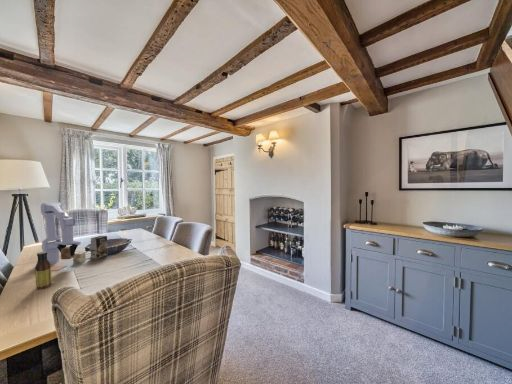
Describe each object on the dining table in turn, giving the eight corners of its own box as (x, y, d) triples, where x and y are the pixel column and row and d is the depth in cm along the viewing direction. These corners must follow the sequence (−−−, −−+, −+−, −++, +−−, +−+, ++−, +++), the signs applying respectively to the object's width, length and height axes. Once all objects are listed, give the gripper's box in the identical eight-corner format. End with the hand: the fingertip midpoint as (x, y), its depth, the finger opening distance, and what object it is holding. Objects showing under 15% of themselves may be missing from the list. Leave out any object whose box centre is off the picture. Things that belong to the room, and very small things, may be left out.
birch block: (73, 263, 154) (73, 254, 153) (78, 261, 159) (77, 251, 158) (80, 263, 154) (80, 253, 154) (85, 261, 159) (85, 251, 159)
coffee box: (97, 259, 164) (97, 238, 164) (90, 258, 166) (90, 238, 165) (107, 255, 173) (107, 235, 173) (101, 254, 175) (100, 235, 174)
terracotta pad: (44, 271, 140) (44, 270, 140) (54, 266, 148) (54, 265, 148) (57, 270, 141) (57, 270, 141) (66, 266, 149) (66, 265, 149)
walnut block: (61, 259, 142) (60, 249, 142) (66, 256, 147) (66, 246, 147) (69, 259, 143) (69, 248, 143) (74, 256, 148) (74, 246, 148)
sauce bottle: (42, 284, 124) (42, 250, 123) (54, 284, 124) (53, 250, 124) (32, 290, 117) (31, 254, 116) (44, 289, 118) (43, 254, 117)
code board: (41, 273, 139) (41, 272, 138) (66, 260, 160) (66, 260, 160) (70, 272, 141) (70, 271, 141) (91, 260, 162) (91, 259, 162)
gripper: (50, 237, 140) (51, 257, 140) (75, 237, 142) (75, 257, 142) (59, 234, 147) (59, 254, 147) (82, 234, 149) (82, 253, 149)
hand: (68, 255), depth 145 cm, fingers closed on walnut block, 5 cm apart
